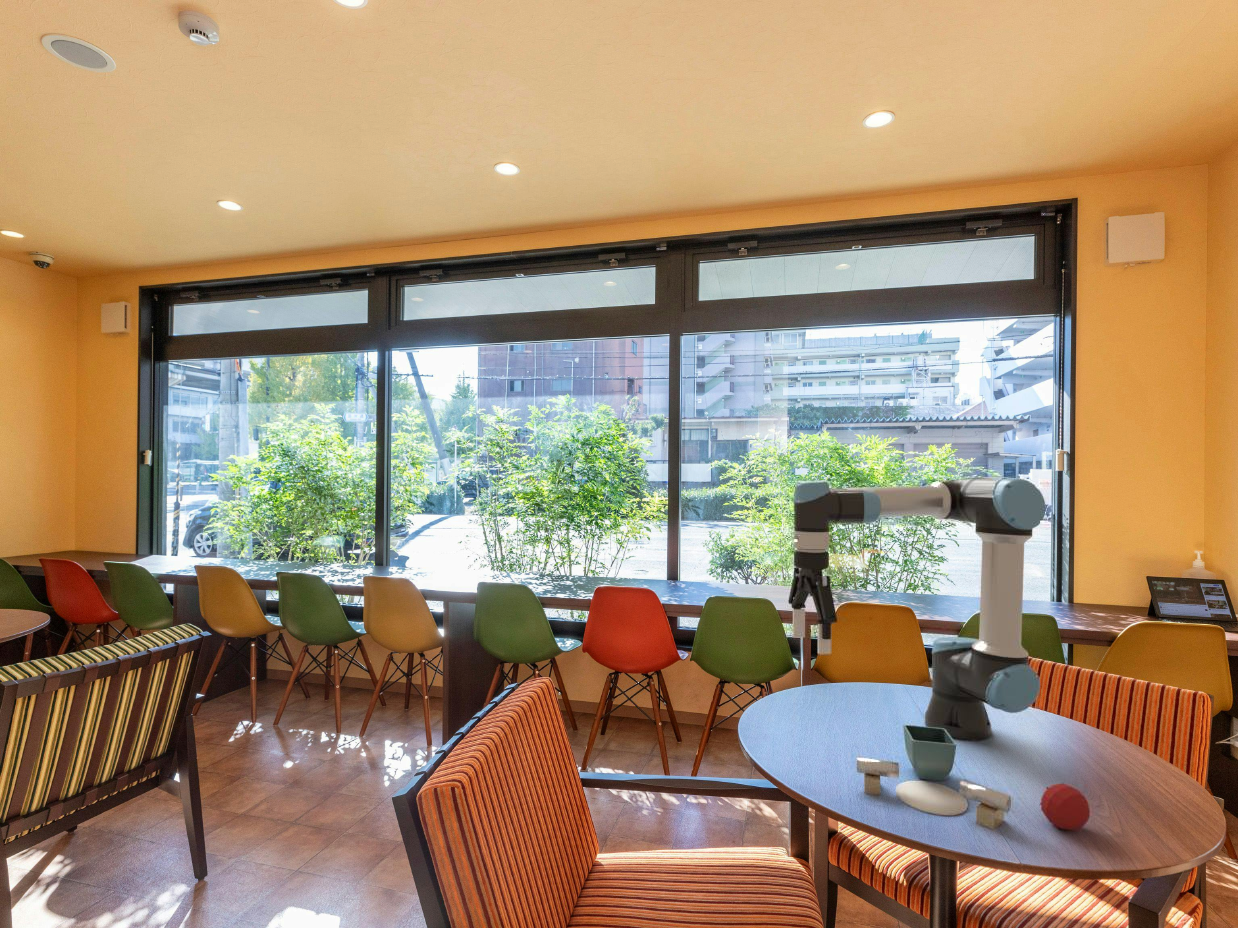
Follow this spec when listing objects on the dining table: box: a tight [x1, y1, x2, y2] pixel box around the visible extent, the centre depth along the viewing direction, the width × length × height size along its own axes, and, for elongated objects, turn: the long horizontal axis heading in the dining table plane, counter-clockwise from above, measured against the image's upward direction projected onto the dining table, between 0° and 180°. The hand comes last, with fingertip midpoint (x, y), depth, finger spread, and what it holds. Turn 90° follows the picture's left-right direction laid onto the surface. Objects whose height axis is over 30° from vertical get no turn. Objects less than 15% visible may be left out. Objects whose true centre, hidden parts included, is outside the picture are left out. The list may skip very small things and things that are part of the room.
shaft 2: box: [958, 779, 1012, 830], centre depth 121 cm, size 8×5×6 cm, turn 40°
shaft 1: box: [856, 756, 900, 796], centre depth 132 cm, size 8×5×6 cm, turn 70°
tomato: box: [1039, 783, 1091, 831], centre depth 119 cm, size 8×8×8 cm
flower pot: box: [902, 724, 957, 782], centre depth 139 cm, size 9×9×9 cm
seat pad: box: [895, 780, 969, 817], centre depth 129 cm, size 13×13×1 cm
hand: (810, 645), depth 143 cm, fingers open, 13 cm apart
